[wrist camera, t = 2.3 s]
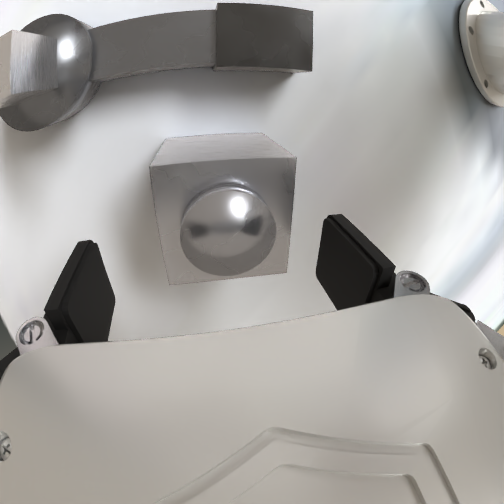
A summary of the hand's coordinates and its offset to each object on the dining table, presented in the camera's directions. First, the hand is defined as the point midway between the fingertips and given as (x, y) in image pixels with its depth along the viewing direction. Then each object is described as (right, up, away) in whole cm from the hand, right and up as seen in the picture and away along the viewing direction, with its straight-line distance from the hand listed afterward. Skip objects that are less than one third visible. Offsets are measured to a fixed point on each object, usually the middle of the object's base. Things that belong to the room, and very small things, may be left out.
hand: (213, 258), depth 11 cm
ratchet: (-5, +12, +1) cm, 13 cm away
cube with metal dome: (-1, +5, +7) cm, 8 cm away
